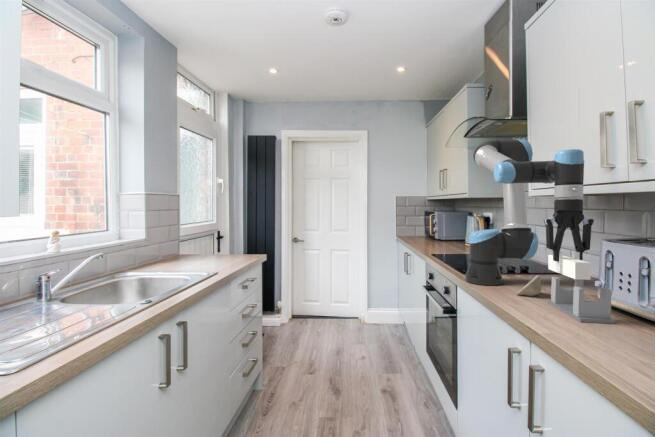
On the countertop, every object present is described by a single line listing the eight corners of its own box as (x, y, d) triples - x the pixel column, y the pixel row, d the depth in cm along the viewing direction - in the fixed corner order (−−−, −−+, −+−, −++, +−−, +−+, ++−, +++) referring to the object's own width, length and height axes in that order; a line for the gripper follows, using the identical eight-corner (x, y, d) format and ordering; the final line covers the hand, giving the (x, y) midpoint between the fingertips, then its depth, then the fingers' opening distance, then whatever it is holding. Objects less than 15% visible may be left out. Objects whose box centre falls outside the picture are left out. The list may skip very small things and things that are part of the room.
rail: (548, 269, 116) (548, 254, 116) (561, 269, 115) (561, 255, 115) (575, 279, 98) (575, 262, 98) (590, 279, 98) (590, 262, 98)
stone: (510, 294, 132) (520, 273, 134) (527, 304, 131) (537, 282, 133) (522, 292, 122) (533, 269, 124) (540, 302, 121) (551, 279, 123)
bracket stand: (548, 302, 118) (548, 275, 117) (576, 303, 116) (577, 276, 116) (580, 322, 98) (580, 290, 98) (615, 323, 96) (615, 291, 96)
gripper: (543, 198, 104) (542, 273, 105) (606, 198, 101) (605, 274, 102) (534, 199, 112) (533, 268, 113) (592, 198, 108) (591, 270, 109)
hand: (567, 271), depth 107 cm, fingers closed on rail, 4 cm apart
